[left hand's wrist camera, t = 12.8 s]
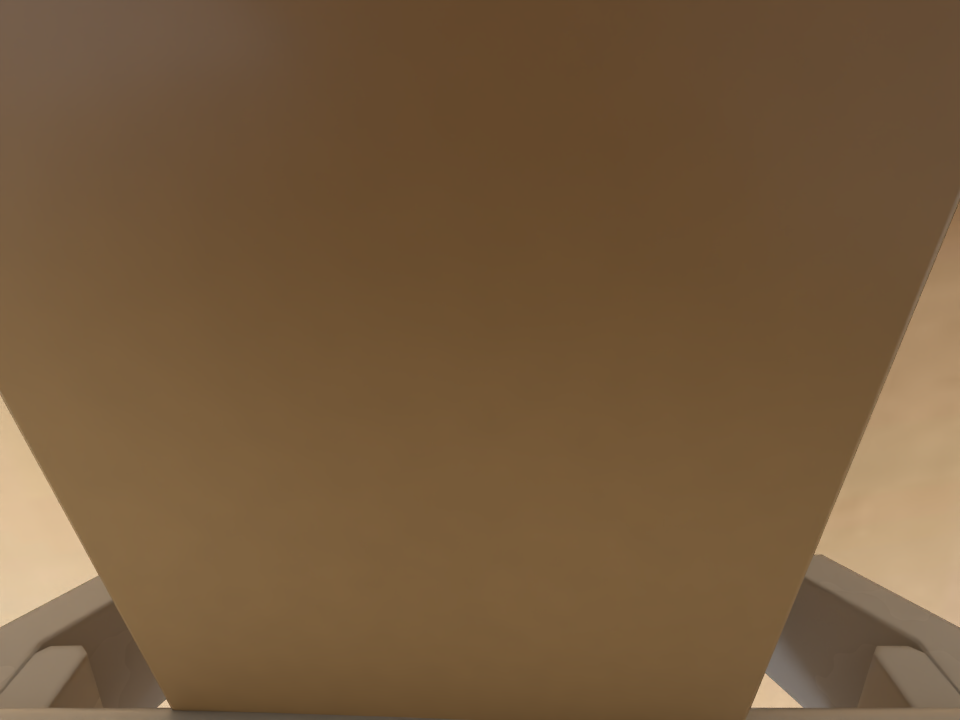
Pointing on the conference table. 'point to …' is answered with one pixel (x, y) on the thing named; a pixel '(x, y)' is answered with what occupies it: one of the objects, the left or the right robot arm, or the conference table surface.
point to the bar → (463, 329)
